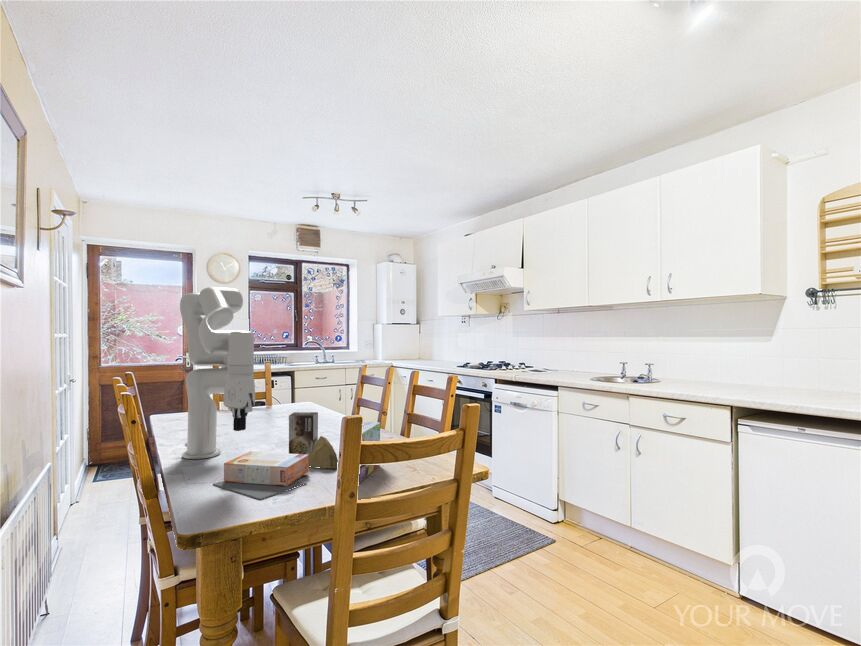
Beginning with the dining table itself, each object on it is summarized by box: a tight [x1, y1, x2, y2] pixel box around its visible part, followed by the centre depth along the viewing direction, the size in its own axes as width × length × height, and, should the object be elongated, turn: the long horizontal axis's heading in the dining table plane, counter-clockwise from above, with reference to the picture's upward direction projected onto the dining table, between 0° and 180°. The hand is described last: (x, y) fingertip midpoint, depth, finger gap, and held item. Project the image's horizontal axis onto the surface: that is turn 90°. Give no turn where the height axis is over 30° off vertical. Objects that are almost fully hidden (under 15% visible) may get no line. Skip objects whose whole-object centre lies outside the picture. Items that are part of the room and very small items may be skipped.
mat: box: [212, 479, 307, 501], centre depth 135 cm, size 22×16×1 cm
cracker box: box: [223, 450, 310, 486], centre depth 140 cm, size 14×6×21 cm
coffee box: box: [288, 411, 319, 455], centre depth 164 cm, size 9×6×16 cm
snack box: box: [359, 421, 382, 484], centre depth 146 cm, size 21×6×15 cm, turn 170°
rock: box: [309, 435, 339, 470], centre depth 153 cm, size 11×9×10 cm
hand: (239, 430), depth 141 cm, fingers closed
